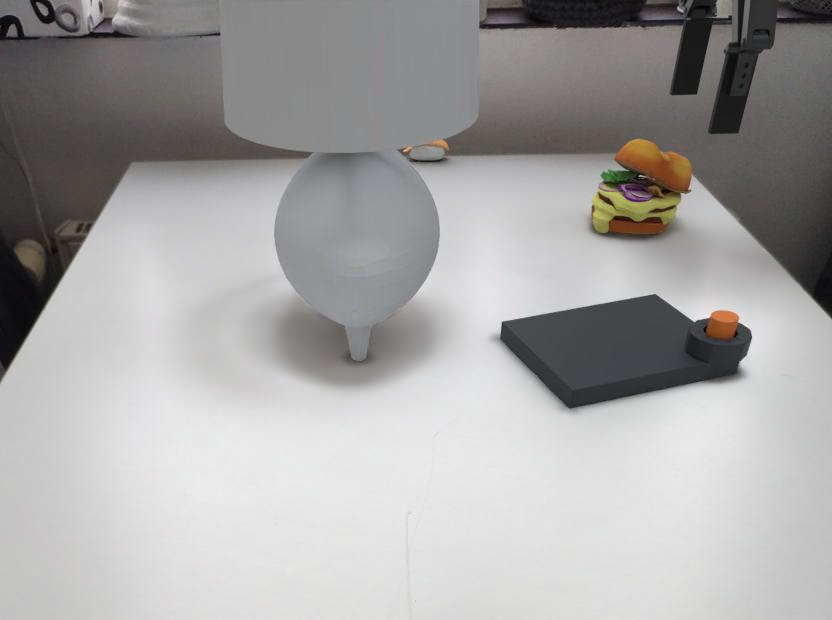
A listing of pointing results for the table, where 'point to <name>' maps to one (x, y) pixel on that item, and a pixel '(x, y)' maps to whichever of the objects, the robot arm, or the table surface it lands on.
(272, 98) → the table lamp
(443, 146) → the sushi
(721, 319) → the tare button
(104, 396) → the table surface
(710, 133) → the robot arm
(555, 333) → the scale
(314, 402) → the table surface
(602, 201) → the cheeseburger
